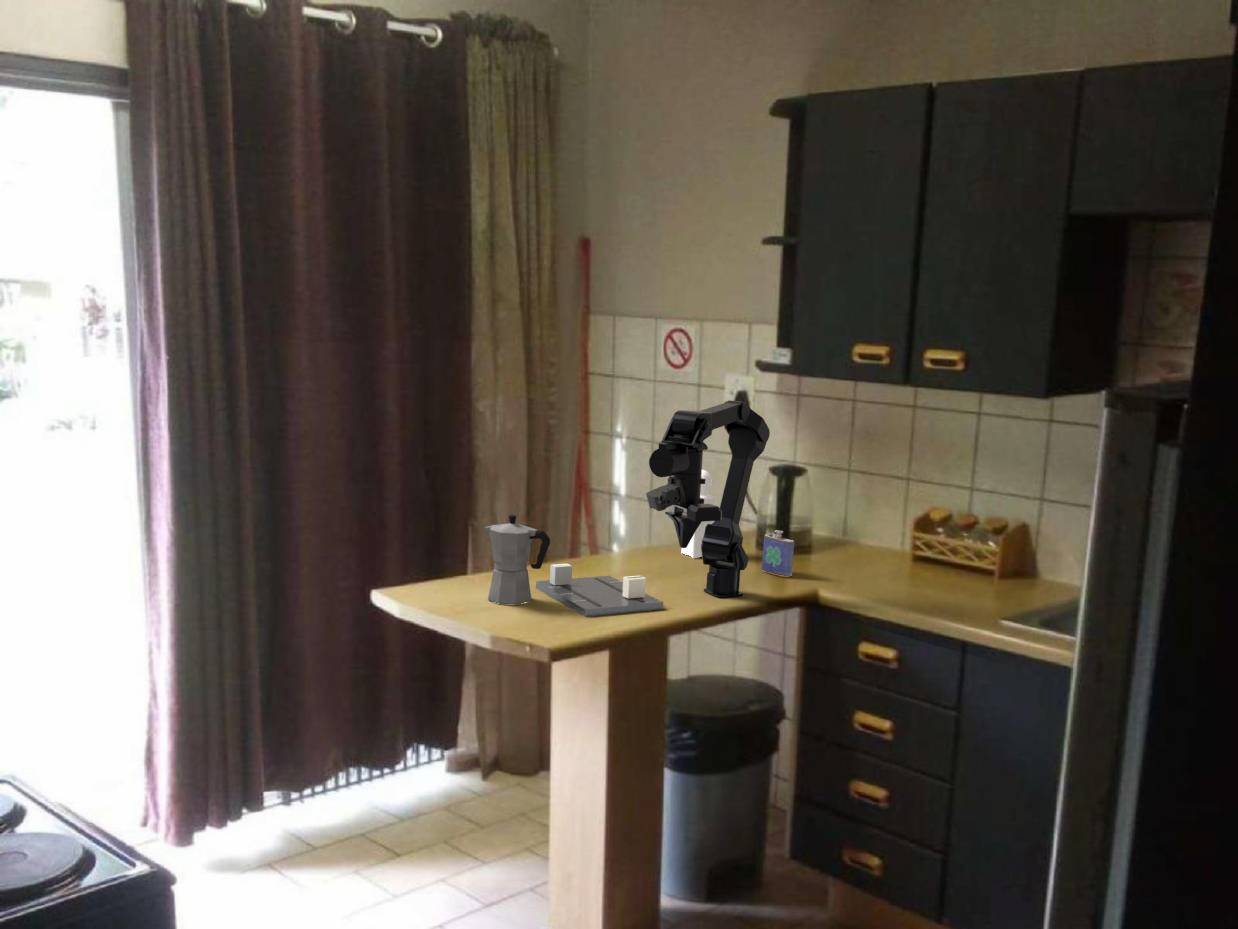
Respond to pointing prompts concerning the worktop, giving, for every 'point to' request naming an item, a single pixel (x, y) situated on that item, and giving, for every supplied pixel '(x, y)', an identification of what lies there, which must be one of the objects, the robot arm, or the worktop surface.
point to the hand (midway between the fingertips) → (683, 547)
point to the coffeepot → (513, 560)
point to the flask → (777, 554)
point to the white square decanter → (696, 541)
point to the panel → (598, 596)
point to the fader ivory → (634, 586)
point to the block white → (560, 574)
